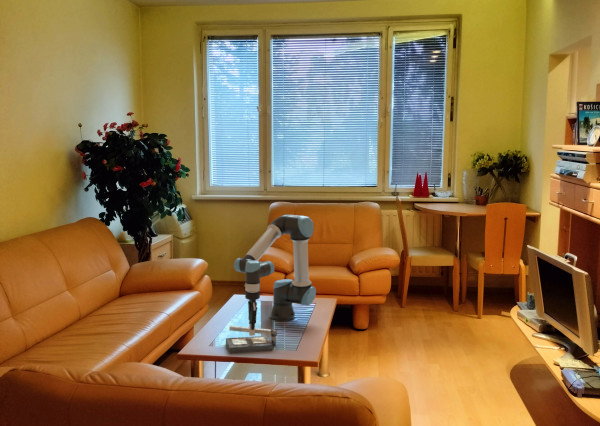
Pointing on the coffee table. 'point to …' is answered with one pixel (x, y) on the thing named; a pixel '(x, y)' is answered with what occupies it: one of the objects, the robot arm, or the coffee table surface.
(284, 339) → the coffee table surface
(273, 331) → the ball-tipped flat stick
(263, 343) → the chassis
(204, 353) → the coffee table surface
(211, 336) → the coffee table surface
